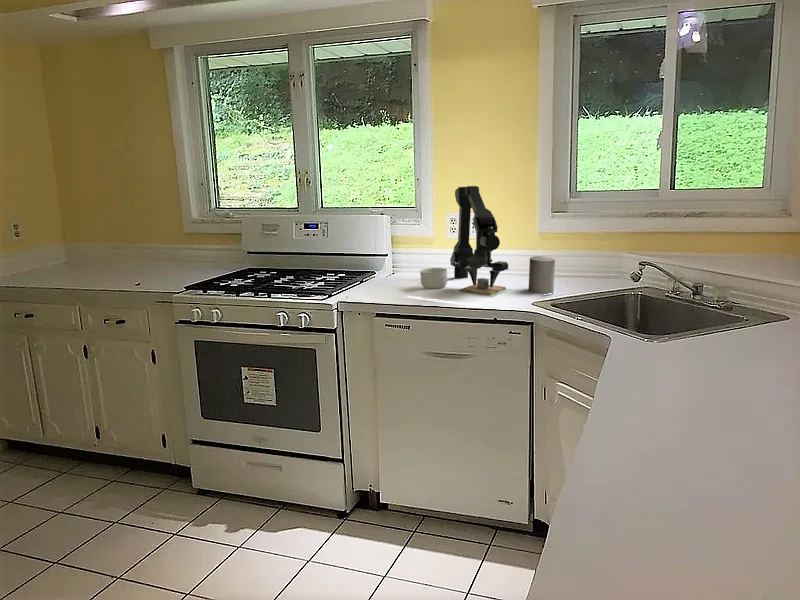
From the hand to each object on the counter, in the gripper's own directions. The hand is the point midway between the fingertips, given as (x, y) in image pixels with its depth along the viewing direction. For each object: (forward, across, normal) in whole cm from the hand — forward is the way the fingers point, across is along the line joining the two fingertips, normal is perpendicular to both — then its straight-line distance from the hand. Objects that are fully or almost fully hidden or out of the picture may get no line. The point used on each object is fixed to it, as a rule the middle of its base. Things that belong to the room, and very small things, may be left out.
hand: (482, 286), depth 267 cm
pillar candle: (+3, +19, +12) cm, 23 cm away
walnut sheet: (+2, 0, 0) cm, 2 cm away
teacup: (+3, -21, -2) cm, 21 cm away
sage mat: (+3, 0, 0) cm, 3 cm away
